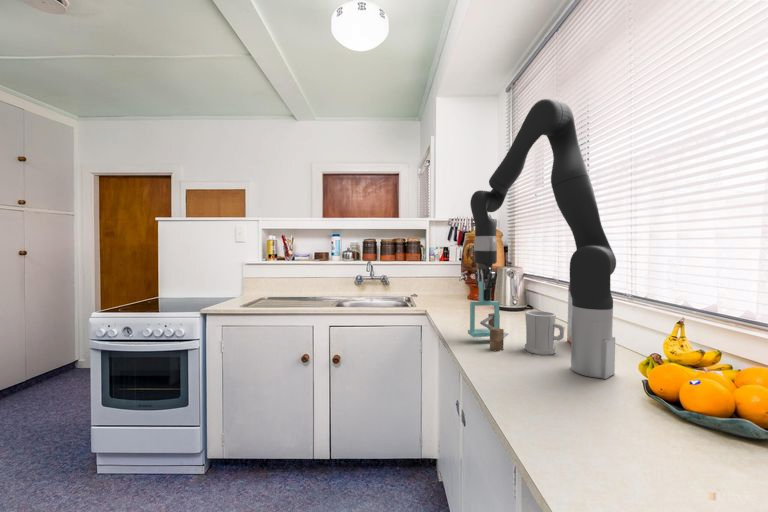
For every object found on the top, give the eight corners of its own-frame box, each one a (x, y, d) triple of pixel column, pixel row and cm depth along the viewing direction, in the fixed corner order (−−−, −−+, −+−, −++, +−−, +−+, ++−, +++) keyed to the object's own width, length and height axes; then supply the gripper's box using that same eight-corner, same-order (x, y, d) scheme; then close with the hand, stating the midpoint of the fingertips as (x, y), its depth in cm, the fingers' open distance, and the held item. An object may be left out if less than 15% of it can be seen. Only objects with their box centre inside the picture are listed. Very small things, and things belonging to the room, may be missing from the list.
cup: (554, 347, 115) (555, 311, 114) (566, 356, 106) (566, 316, 105) (521, 346, 116) (521, 310, 115) (529, 355, 107) (530, 315, 106)
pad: (503, 338, 126) (503, 337, 126) (471, 333, 133) (471, 332, 133) (508, 334, 132) (508, 333, 132) (477, 329, 139) (477, 329, 139)
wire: (495, 316, 137) (495, 314, 137) (498, 332, 112) (498, 330, 112) (480, 315, 139) (480, 313, 139) (480, 331, 113) (480, 328, 113)
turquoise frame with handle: (501, 336, 119) (502, 282, 119) (473, 337, 118) (473, 282, 117) (494, 332, 124) (495, 280, 124) (467, 333, 123) (468, 280, 122)
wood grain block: (499, 330, 139) (499, 313, 138) (503, 352, 110) (504, 331, 109) (488, 329, 140) (488, 312, 139) (489, 350, 111) (489, 330, 111)
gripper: (505, 249, 114) (504, 303, 114) (487, 249, 128) (486, 296, 128) (483, 249, 113) (482, 303, 113) (467, 249, 127) (466, 297, 127)
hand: (484, 299), depth 121 cm, fingers closed on turquoise frame with handle, 3 cm apart
